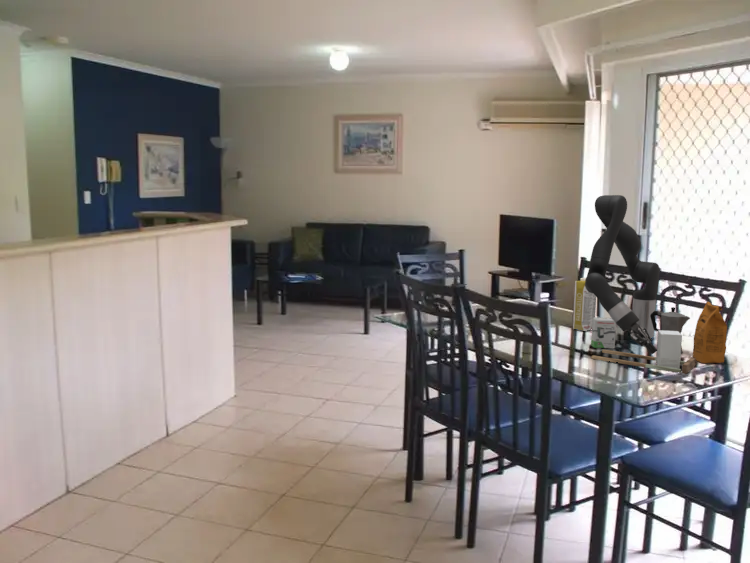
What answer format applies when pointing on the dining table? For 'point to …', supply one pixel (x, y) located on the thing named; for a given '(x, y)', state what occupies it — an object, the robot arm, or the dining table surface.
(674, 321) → the coffeepot
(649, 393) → the dining table surface
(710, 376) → the dining table surface
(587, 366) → the dining table surface
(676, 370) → the beam slot
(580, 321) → the juice carton
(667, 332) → the supplement box
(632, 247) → the robot arm
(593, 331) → the ink box
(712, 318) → the coffee package
